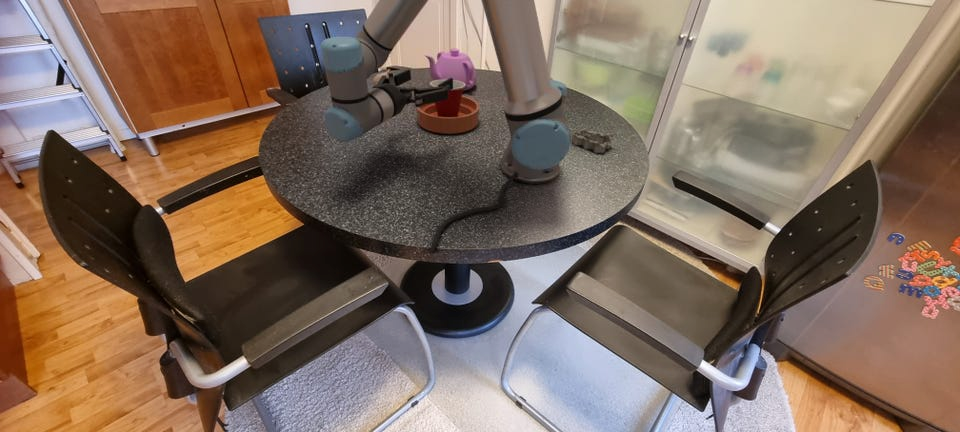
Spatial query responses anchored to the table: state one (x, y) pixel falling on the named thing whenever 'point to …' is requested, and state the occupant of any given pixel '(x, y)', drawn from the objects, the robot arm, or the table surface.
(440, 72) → the teapot
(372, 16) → the robot arm
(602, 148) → the egg carton
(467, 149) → the table surface
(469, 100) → the bowl
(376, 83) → the garlic bulb
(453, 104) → the plastic cup
